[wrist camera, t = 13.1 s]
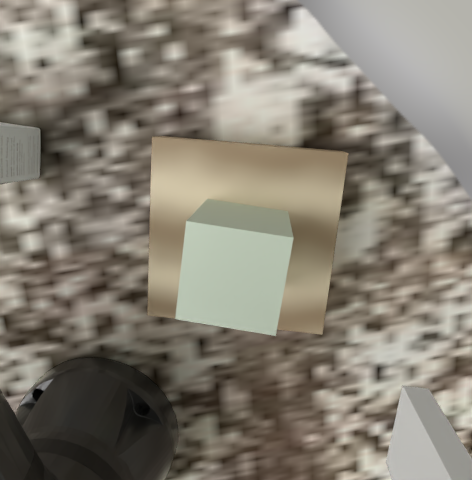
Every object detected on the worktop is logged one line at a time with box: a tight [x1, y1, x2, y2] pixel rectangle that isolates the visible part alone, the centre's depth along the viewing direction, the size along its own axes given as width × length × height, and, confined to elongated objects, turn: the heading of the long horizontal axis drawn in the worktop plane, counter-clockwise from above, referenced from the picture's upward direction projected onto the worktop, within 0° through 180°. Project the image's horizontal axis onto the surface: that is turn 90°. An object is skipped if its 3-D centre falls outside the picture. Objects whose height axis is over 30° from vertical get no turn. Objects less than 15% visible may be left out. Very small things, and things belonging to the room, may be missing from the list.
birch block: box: [147, 136, 348, 334], centre depth 34 cm, size 14×14×4 cm
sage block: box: [175, 199, 293, 336], centre depth 28 cm, size 6×6×8 cm
